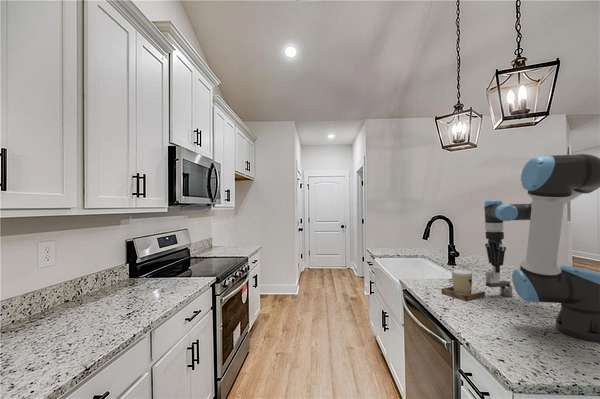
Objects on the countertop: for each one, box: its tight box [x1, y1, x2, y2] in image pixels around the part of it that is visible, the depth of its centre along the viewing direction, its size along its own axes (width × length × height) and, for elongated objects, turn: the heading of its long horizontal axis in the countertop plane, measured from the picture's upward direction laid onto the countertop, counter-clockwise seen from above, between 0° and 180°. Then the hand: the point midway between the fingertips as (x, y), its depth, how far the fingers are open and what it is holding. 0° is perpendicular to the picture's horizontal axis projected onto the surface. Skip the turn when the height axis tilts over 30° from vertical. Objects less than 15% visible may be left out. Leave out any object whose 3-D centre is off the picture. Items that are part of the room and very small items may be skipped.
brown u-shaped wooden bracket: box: [441, 285, 486, 302], centre depth 149 cm, size 14×14×2 cm
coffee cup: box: [451, 269, 473, 295], centre depth 149 cm, size 9×9×12 cm
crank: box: [485, 270, 511, 288], centre depth 146 cm, size 12×4×7 cm, turn 98°
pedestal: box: [499, 285, 513, 298], centre depth 146 cm, size 5×5×5 cm
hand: (496, 278), depth 143 cm, fingers closed
